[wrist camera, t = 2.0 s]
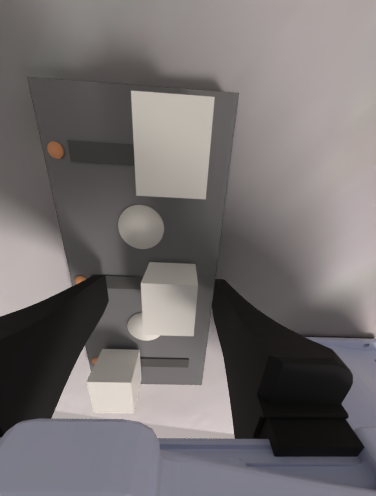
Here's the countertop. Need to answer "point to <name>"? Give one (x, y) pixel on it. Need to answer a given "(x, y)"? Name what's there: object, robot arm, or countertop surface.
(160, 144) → the switch
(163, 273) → the switch
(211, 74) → the countertop surface
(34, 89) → the switch panel
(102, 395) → the switch
